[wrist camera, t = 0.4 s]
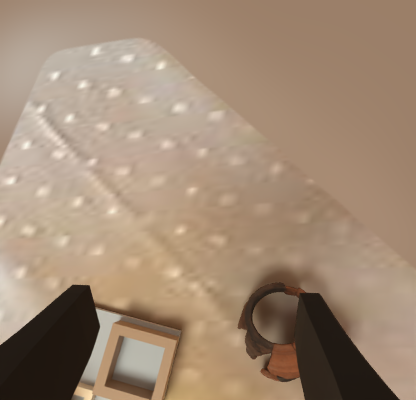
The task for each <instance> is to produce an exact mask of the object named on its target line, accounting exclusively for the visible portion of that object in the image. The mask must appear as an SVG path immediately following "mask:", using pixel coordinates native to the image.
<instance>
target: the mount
mask: <svg viewBox="0 0 416 400" xmlns="http://www.w3.org/2000/svg"><path fill="white" fill-rule="evenodd" d="M95 308H96V312H97V316H98V319H99V323H100V330H99V333H98V336H97V340H96V343H95V346H94V349H93V352H92V355H91V357H90V359H89V362H88V364H87V366H86V368H85V370H84V373H83V375H82V377H81V379H80V381H79V384H78V386H77V388H76V390H75V392H74V394H73V397H72V400H164V397H165V394H166V390H167V386H168V382H169V378H170V374H171V370H172V366H173V362H174V358H175V354H176V350H177V346H178V342H179V339H180V335H181V330H178V329H174V328H171V327H167V326H163V325H160V324H156V323H152V322H149V321H145V320H141V319H138V318H134V317H130V316H127V315H123V314H119V313H116V312H112V311H109V310H105V309H101V308H98V307H95Z"/></svg>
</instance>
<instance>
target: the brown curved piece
mask: <svg viewBox="0 0 416 400" xmlns="http://www.w3.org/2000/svg"><path fill="white" fill-rule="evenodd" d="M275 292H284V293H285V294H287V295H294V296H297V297H298V298H299V294H300V293H306V292H305V291H304V290H302V289H300V288H298V289H295V288H292V287H288V286H285V285H284V284H283V283H281V282H279V283H272V284H268V285H265V286H263V287H261V288H260V289H258V290H257V291H256V292H255V293H254V294H253V295H252V296H251V297H250V298H249V300H248V302H247V303H246V304H245V306H244V308H243V311H242V314H241V317H240V320H239V323H238V329H241V328H242V329H245V330H247V333H246V336H245V343H246V346H247V348H246V352H247V353H248V355H249V356H250V357H251V358H252V359H256V357H257V356H261V355H263V354H269V353H271V357H270V361H269V364H268V366H267V369H268V370H269V371H267V370H266V369H263V368H262V369H261V373H262V374H263V375H264V376H266V377H268V378H271V379H273V380H276V381H281V382H288V381H291V380H294V379H296V378H299V377H300V374H299V370H298V364H297V356H296V347H295V342H293V343H290V344H277V343H271V342H270V341H268V340H266V339H264V338H263V337H262V336H261V335H260V334H259V333H258V332H257V330H256V329H255V326H254V324H253V320H252V314H253V310H254V307H255V305H256V304H257V302H258V301H259V300H260V299H261V298H263V297H264V296H266V295H268V294H271V293H275Z"/></svg>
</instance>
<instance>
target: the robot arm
mask: <svg viewBox="0 0 416 400" xmlns="http://www.w3.org/2000/svg"><path fill="white" fill-rule="evenodd" d="M99 330H100V323H99V319H98V316H97V312H96V308H95V304H94V300H93V297H92V293H91V289H90V285H72V286H71V287H70V288H68V289H67V290H66V291H65V292H64V293H62V294H61V295H60V296H59V297H58V298H57V299H55V300H54V301H53V302H52V303H51V304H50V305H48V306H47V307H46V308H45V309H44V310H43V311H42V312H40V313H39V314H38V315H37V316H36V317H34V318H33V319H32V320H31V321H30V322H29V323H27V324H26V325H25V326H24V327H23V328H21V329H20V330H19V331H18V332H17V333H15V334H14V335H13V336H11V337H10V338H9V339H8V340H6V341H5V342H4V343H3V344H1V345H0V400H71V399H72V397H73V394H74V392H75V390H76V388H77V386H78V384H79V381H80V379H81V377H82V375H83V373H84V370H85V368H86V366H87V364H88V362H89V359H90V357H91V355H92V352H93V349H94V346H95V343H96V340H97V336H98V333H99ZM294 338H295V347H296V356H297V364H298V370H299V374H300V379H301V383H302V388H303V392H304V397H305V400H400V399H399V398H398V397H397V396H396V395H395V394H394V393H393V392H392V391H391V389H390V388H389V387H388V386H387V385H386V384H385V382H384V381H383V380H382V379H381V378H380V376H379V375H378V374H377V373H376V372H375V370H374V369H373V368H372V367H371V366H370V364H369V363H368V362H367V360H366V359H365V358H364V357H363V355H362V354H361V353H360V351H359V350H358V349H357V347H356V346H355V345H354V343H353V342H352V341H351V339H350V338H349V337H348V335H347V334H346V332H345V331H344V330H343V328H342V327H341V325H340V324H339V322H338V321H337V319H336V318H335V316H334V315H333V313H332V312H331V310H330V309H329V307H328V306H327V304H326V303H325V301H324V299H323V298H322V296H321V295H320V294H319V293H300V294H299V302H298V310H297V318H296V326H295V333H294Z"/></svg>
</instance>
